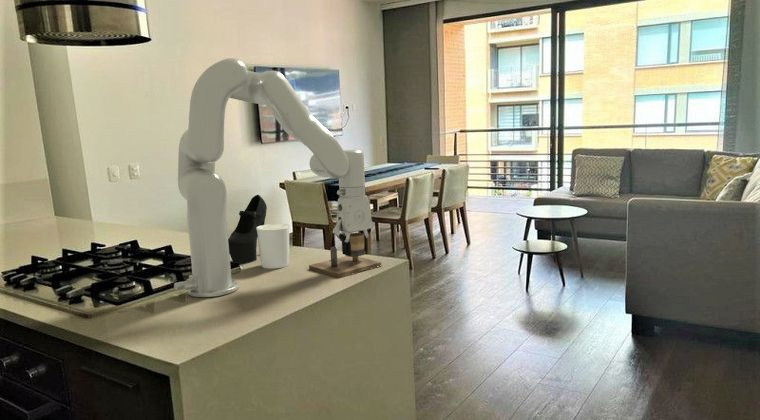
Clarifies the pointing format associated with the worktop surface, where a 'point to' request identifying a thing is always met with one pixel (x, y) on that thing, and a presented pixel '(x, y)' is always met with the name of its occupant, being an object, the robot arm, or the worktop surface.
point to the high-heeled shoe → (247, 231)
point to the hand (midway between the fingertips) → (355, 252)
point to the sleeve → (356, 244)
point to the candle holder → (273, 245)
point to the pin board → (343, 265)
